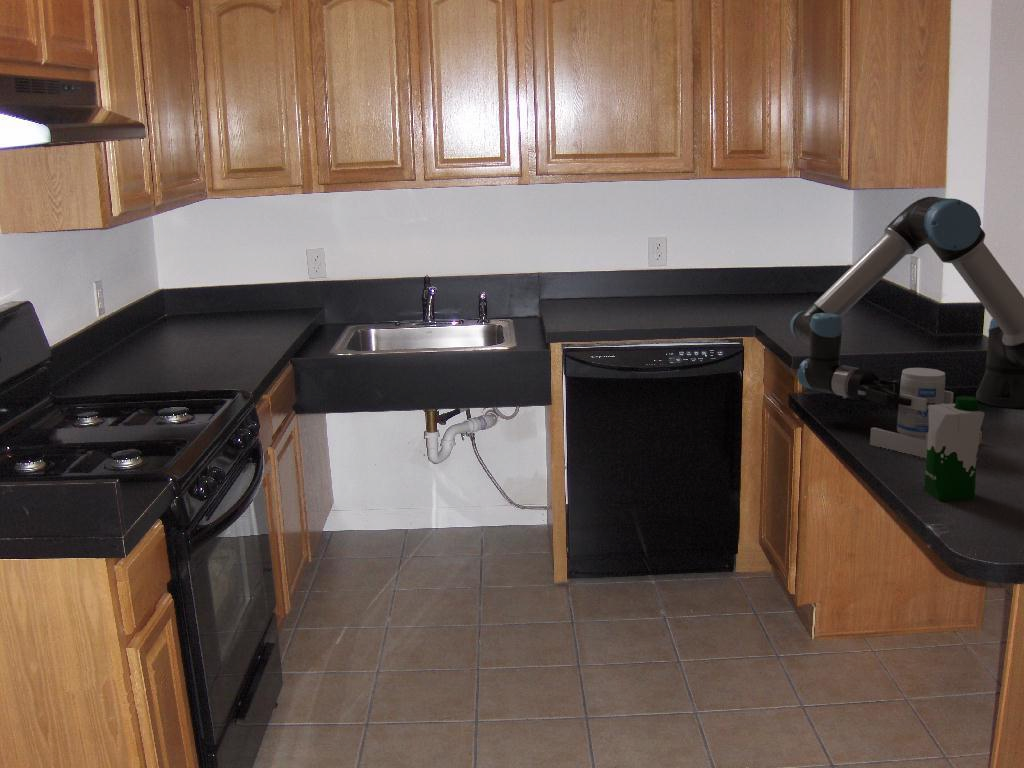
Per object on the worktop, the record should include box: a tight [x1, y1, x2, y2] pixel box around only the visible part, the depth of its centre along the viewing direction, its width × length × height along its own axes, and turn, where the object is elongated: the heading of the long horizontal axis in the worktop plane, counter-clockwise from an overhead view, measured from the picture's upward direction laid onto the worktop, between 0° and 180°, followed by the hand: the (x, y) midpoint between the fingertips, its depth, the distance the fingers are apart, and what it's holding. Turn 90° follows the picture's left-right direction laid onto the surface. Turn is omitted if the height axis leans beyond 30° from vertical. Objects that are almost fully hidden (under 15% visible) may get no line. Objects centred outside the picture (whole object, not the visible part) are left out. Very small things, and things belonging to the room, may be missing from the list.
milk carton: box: [923, 395, 985, 502], centre depth 207 cm, size 9×9×20 cm
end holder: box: [869, 426, 928, 458], centre depth 240 cm, size 15×15×6 cm
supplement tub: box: [896, 367, 946, 438], centre depth 239 cm, size 10×10×15 cm
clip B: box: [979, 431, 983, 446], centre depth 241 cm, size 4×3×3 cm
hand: (939, 401), depth 235 cm, fingers closed on supplement tub, 9 cm apart
